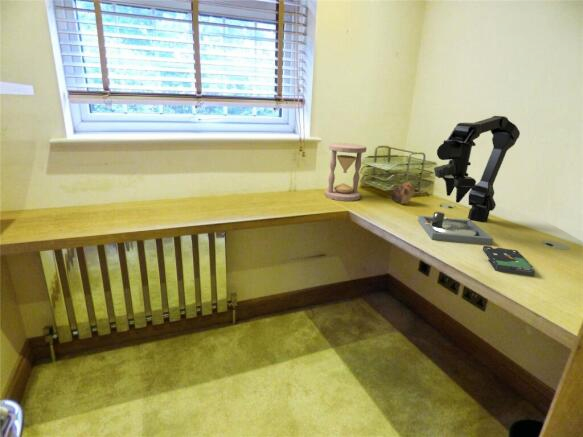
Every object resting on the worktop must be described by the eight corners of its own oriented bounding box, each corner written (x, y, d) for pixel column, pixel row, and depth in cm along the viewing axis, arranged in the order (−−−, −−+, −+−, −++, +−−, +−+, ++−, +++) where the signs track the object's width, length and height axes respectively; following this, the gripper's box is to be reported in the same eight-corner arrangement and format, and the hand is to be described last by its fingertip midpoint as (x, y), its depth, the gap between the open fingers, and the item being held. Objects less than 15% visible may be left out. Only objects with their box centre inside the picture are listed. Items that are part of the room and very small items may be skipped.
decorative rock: (413, 206, 163) (417, 183, 159) (401, 206, 161) (405, 183, 158) (398, 199, 174) (402, 178, 170) (388, 199, 172) (391, 178, 168)
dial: (462, 225, 137) (466, 209, 135) (484, 241, 122) (488, 222, 119) (422, 223, 137) (425, 206, 134) (438, 239, 121) (442, 220, 119)
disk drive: (480, 253, 115) (495, 272, 101) (482, 245, 114) (497, 263, 100) (514, 257, 113) (534, 278, 99) (517, 249, 112) (537, 269, 98)
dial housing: (468, 227, 138) (470, 219, 137) (490, 246, 119) (493, 238, 118) (417, 222, 140) (418, 215, 139) (431, 241, 121) (433, 232, 120)
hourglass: (355, 192, 181) (361, 144, 173) (364, 202, 164) (371, 148, 156) (322, 191, 180) (326, 142, 171) (327, 200, 163) (332, 146, 155)
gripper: (430, 153, 137) (424, 191, 142) (447, 162, 119) (439, 205, 125) (459, 154, 136) (451, 192, 142) (480, 163, 119) (471, 206, 124)
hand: (452, 199), depth 133 cm, fingers open, 9 cm apart
